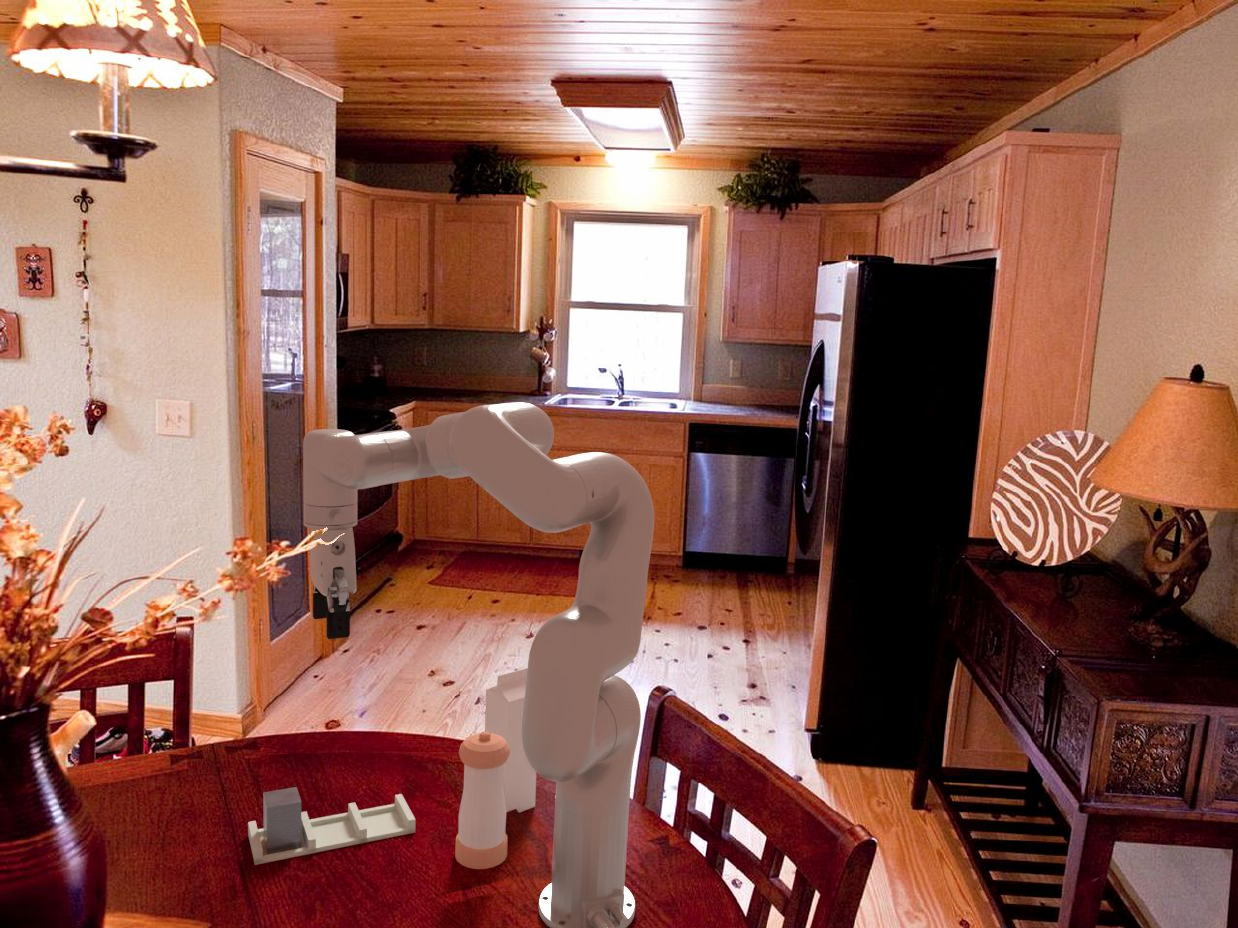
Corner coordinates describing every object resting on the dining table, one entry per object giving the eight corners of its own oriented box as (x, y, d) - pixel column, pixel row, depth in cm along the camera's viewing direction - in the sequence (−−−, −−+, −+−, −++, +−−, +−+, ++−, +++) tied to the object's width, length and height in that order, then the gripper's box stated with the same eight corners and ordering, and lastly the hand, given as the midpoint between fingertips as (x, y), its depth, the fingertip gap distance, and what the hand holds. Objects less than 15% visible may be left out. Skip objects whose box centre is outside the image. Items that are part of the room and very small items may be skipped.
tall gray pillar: (301, 848, 133) (301, 801, 132) (267, 854, 131) (266, 807, 130) (296, 832, 137) (296, 786, 136) (263, 838, 135) (263, 792, 134)
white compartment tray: (415, 838, 139) (415, 819, 139) (254, 871, 129) (254, 850, 129) (401, 811, 146) (401, 793, 146) (248, 841, 136) (248, 821, 136)
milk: (535, 807, 150) (542, 673, 147) (504, 819, 146) (510, 682, 142) (512, 791, 154) (518, 661, 151) (481, 802, 150) (486, 669, 147)
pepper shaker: (457, 878, 130) (461, 745, 127) (452, 848, 137) (455, 722, 134) (510, 872, 132) (515, 742, 129) (502, 843, 139) (507, 719, 136)
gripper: (371, 525, 133) (370, 642, 136) (343, 502, 148) (343, 608, 151) (316, 528, 130) (316, 649, 132) (293, 504, 145) (293, 613, 147)
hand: (330, 627), depth 142 cm, fingers open, 9 cm apart
